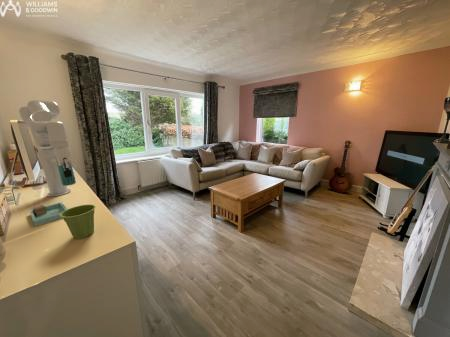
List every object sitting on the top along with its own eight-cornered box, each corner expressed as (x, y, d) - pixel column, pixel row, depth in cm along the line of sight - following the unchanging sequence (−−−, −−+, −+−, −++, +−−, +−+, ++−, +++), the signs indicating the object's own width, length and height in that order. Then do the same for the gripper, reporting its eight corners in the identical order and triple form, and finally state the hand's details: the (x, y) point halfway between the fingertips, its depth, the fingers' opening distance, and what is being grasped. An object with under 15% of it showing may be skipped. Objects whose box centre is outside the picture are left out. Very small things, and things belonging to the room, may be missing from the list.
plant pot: (103, 233, 81) (98, 209, 78) (68, 246, 73) (61, 220, 70) (97, 223, 89) (92, 201, 87) (65, 234, 81) (58, 210, 79)
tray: (31, 215, 101) (29, 210, 100) (62, 206, 110) (61, 202, 109) (35, 227, 88) (33, 221, 88) (70, 216, 98) (69, 211, 97)
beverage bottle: (69, 188, 107) (60, 154, 102) (59, 188, 109) (50, 153, 103) (79, 184, 113) (72, 151, 108) (70, 184, 115) (62, 151, 109)
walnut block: (34, 214, 100) (32, 207, 99) (44, 211, 103) (42, 204, 102) (37, 216, 98) (35, 209, 97) (47, 213, 101) (45, 206, 100)
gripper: (47, 144, 107) (55, 174, 112) (53, 147, 96) (62, 180, 101) (64, 142, 113) (71, 171, 117) (72, 145, 102) (79, 177, 107)
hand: (67, 175), depth 109 cm, fingers closed on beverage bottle, 6 cm apart
